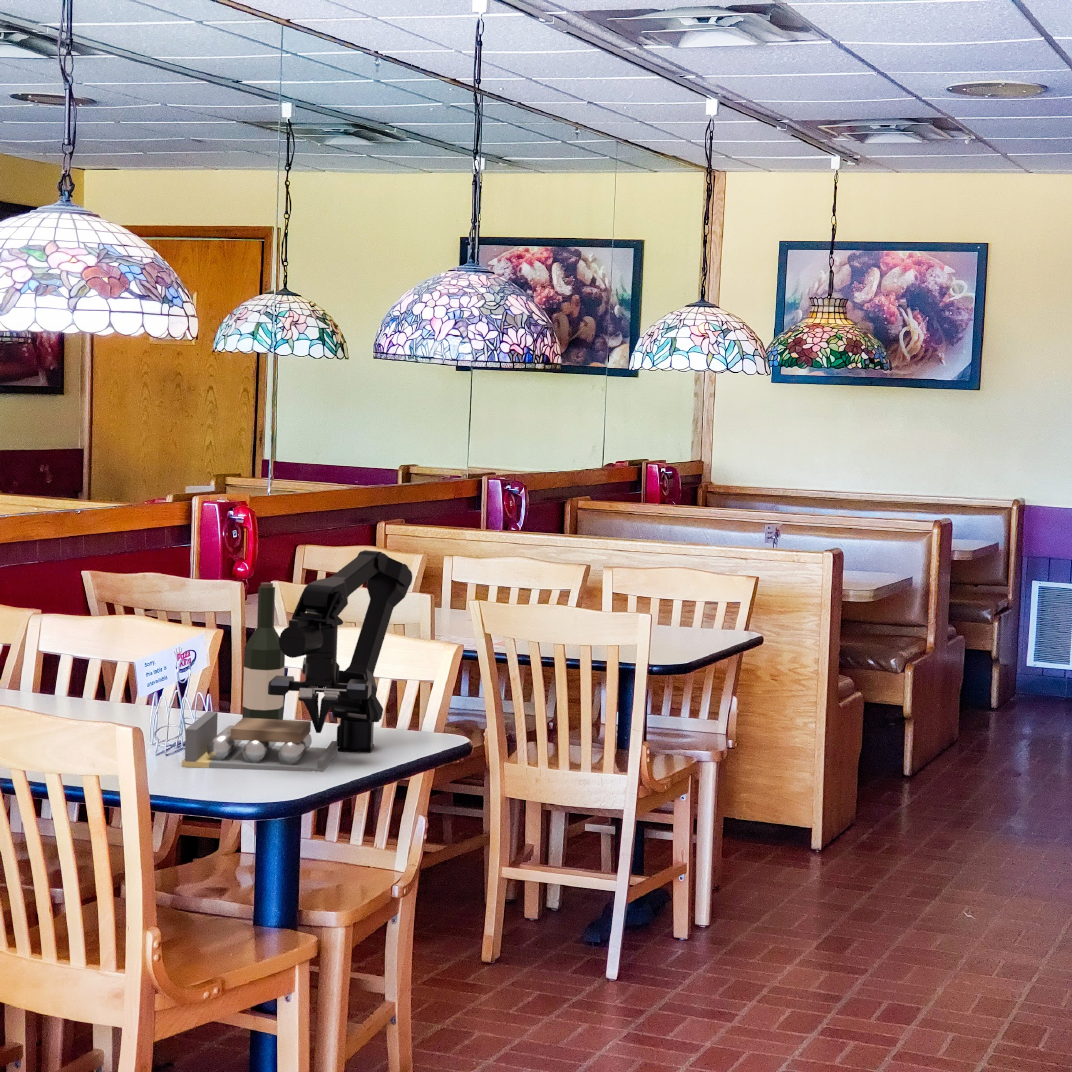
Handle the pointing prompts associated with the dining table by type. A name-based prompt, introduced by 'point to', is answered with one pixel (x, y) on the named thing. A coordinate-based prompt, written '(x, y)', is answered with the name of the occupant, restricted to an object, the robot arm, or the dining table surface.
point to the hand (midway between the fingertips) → (318, 732)
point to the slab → (270, 730)
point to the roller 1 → (222, 745)
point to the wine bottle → (263, 662)
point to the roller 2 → (256, 750)
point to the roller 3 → (294, 751)
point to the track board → (207, 731)
